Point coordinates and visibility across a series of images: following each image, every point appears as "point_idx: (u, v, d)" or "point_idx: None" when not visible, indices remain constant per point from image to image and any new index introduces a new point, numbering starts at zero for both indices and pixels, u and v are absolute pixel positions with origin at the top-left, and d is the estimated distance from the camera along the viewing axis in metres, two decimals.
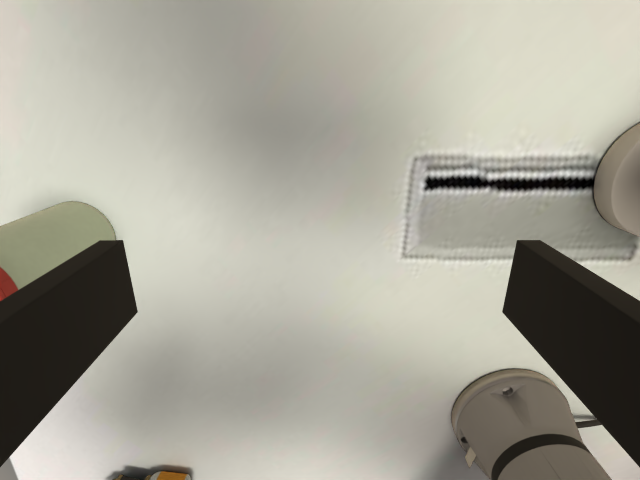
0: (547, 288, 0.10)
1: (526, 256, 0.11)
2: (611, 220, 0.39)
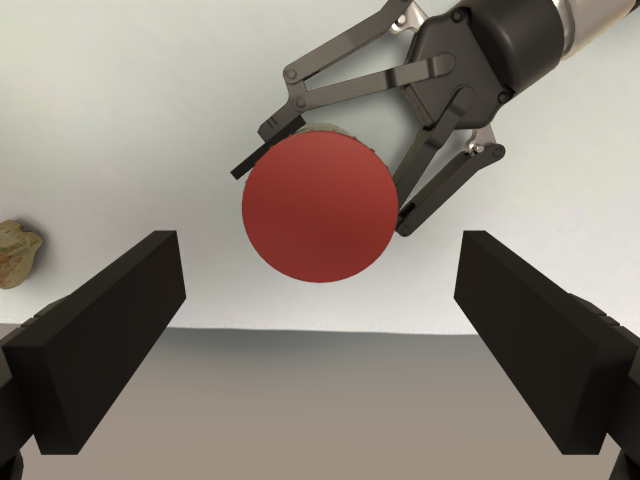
0: (483, 273, 0.11)
1: (469, 244, 0.12)
2: None
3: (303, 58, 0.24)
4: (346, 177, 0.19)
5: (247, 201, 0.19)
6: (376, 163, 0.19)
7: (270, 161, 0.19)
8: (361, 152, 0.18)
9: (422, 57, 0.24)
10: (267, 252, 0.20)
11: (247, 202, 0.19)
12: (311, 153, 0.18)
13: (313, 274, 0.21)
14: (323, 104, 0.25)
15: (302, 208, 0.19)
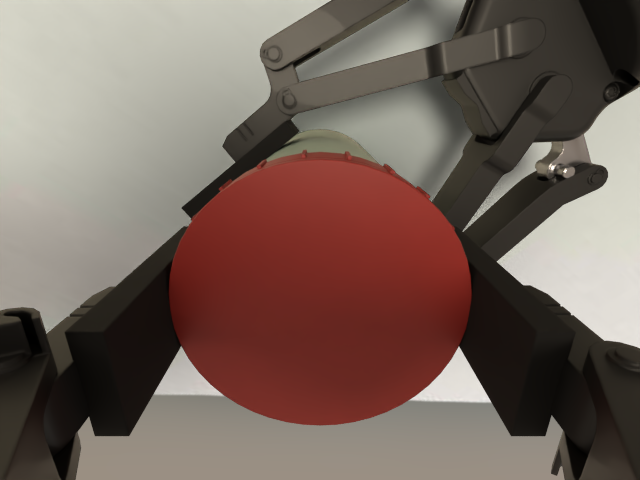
0: None
1: None
2: None
3: (293, 27, 0.15)
4: (372, 248, 0.09)
5: (178, 291, 0.10)
6: (434, 221, 0.09)
7: (219, 217, 0.09)
8: (404, 200, 0.09)
9: (486, 26, 0.15)
10: (222, 378, 0.11)
11: (178, 293, 0.10)
12: (302, 202, 0.09)
13: (308, 412, 0.11)
14: (325, 103, 0.16)
15: (286, 304, 0.10)
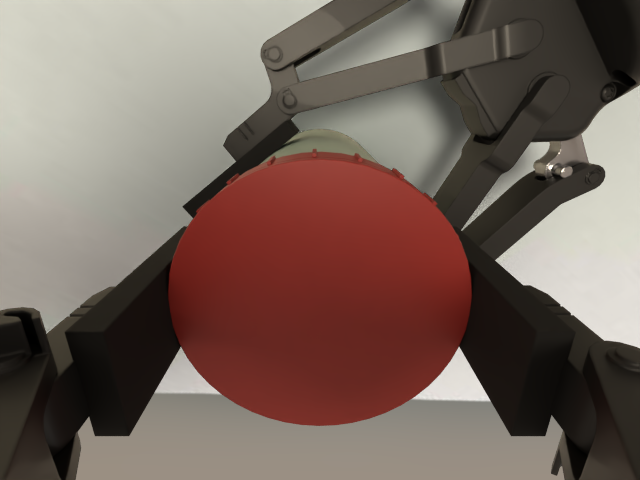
0: None
1: None
2: None
3: (293, 28, 0.15)
4: (263, 252, 0.09)
5: (267, 410, 0.11)
6: (247, 188, 0.09)
7: (207, 362, 0.11)
8: (219, 212, 0.09)
9: (485, 27, 0.15)
10: (365, 408, 0.11)
11: (268, 411, 0.11)
12: (205, 298, 0.10)
13: (437, 352, 0.11)
14: (325, 103, 0.16)
15: (302, 337, 0.10)
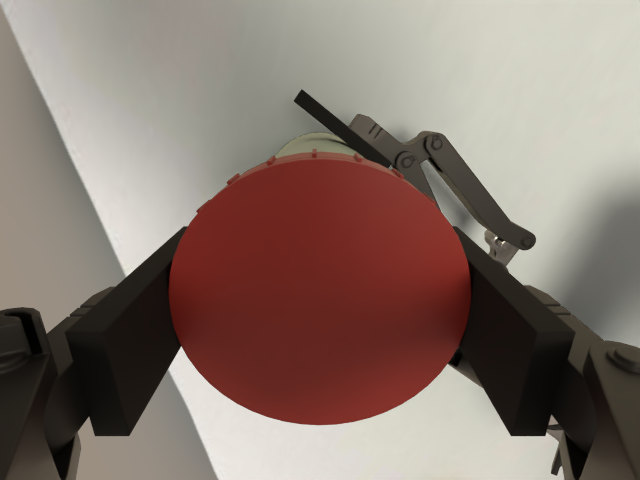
0: None
1: None
2: None
3: (455, 153, 0.21)
4: (263, 251, 0.09)
5: (267, 410, 0.11)
6: (247, 188, 0.09)
7: (207, 361, 0.11)
8: (219, 212, 0.09)
9: None
10: (365, 407, 0.11)
11: (268, 410, 0.11)
12: (205, 298, 0.10)
13: (436, 351, 0.11)
14: None
15: (302, 337, 0.10)
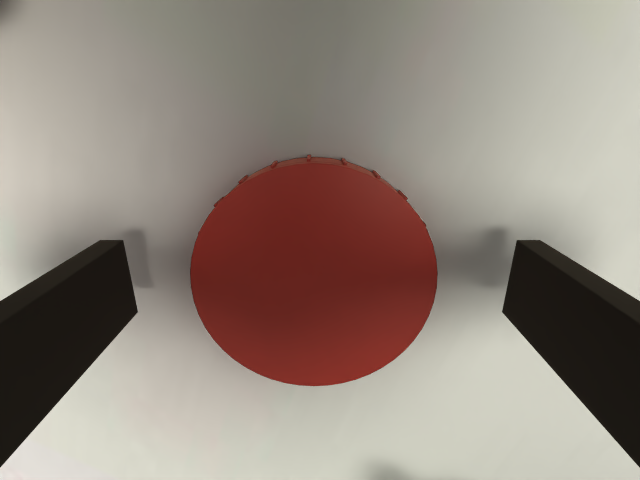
0: (547, 288, 0.10)
1: (526, 256, 0.11)
2: None
3: None
4: (268, 237, 0.12)
5: (270, 372, 0.14)
6: (255, 186, 0.11)
7: (221, 331, 0.13)
8: (233, 206, 0.11)
9: None
10: (352, 370, 0.14)
11: (272, 373, 0.14)
12: (220, 276, 0.12)
13: (410, 320, 0.13)
14: None
15: (299, 309, 0.13)
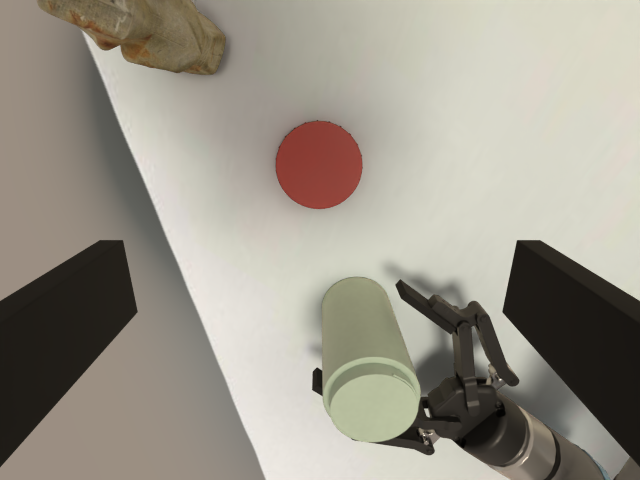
0: (546, 288, 0.10)
1: (526, 256, 0.11)
2: None
3: (491, 326, 0.35)
4: (303, 148, 0.35)
5: (302, 202, 0.36)
6: (299, 129, 0.34)
7: (285, 184, 0.36)
8: (292, 136, 0.34)
9: None
10: (333, 201, 0.36)
11: (303, 202, 0.36)
12: (286, 162, 0.35)
13: (353, 180, 0.36)
14: (460, 341, 0.35)
15: (313, 175, 0.35)
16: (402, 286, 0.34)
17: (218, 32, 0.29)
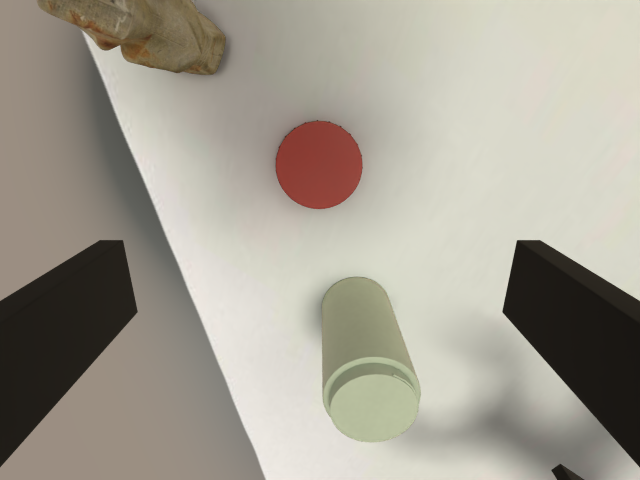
0: (546, 288, 0.10)
1: (526, 256, 0.11)
2: None
3: None
4: (303, 148, 0.35)
5: (302, 202, 0.36)
6: (299, 129, 0.34)
7: (285, 184, 0.36)
8: (292, 136, 0.34)
9: None
10: (333, 201, 0.36)
11: (303, 202, 0.36)
12: (286, 162, 0.35)
13: (353, 180, 0.36)
14: None
15: (313, 175, 0.35)
16: None
17: (218, 32, 0.29)
